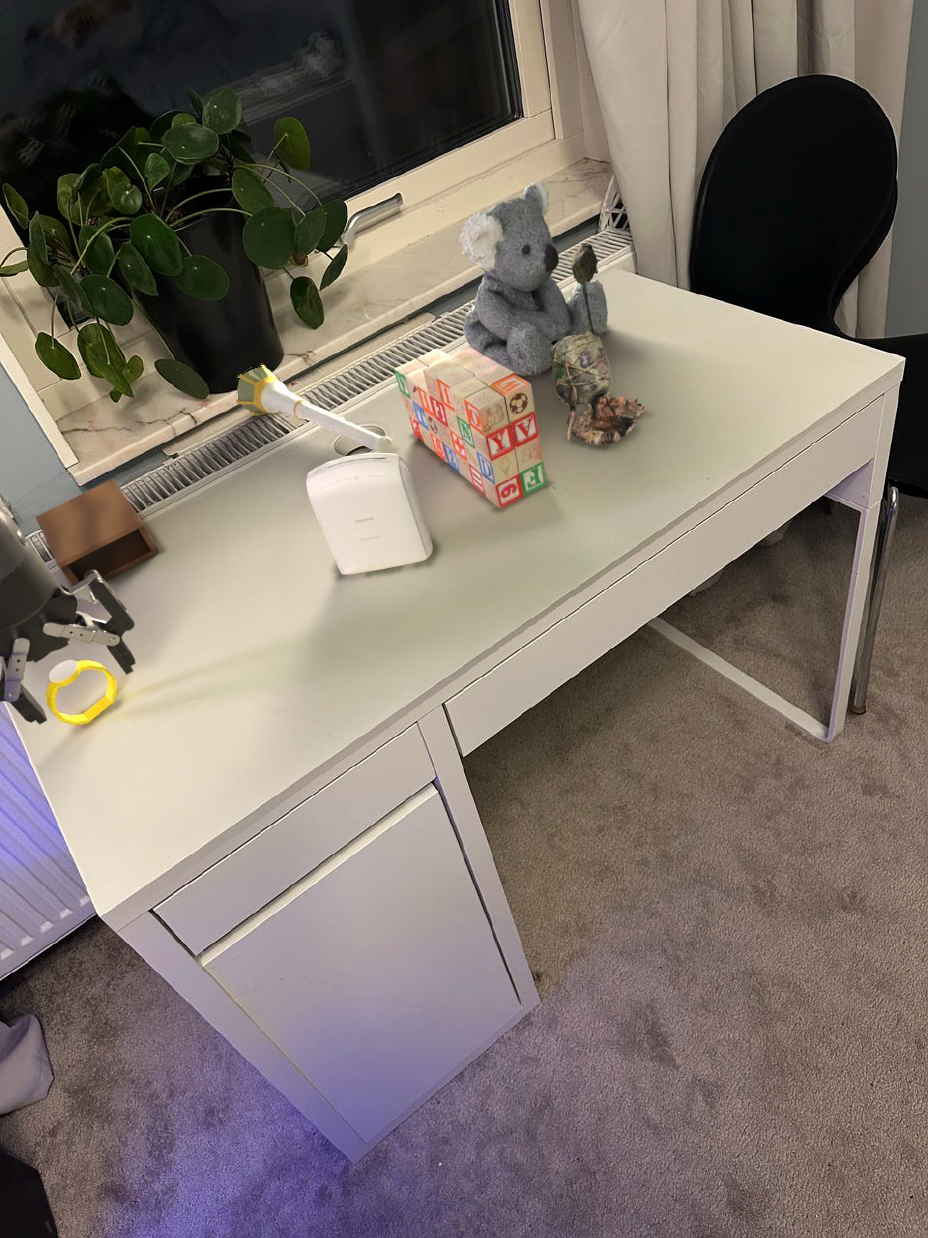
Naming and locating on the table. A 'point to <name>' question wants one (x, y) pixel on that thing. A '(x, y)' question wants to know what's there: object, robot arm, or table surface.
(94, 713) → the watch
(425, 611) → the table surface
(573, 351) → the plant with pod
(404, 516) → the photo printer
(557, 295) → the koala plush
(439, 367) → the stack of blocks
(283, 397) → the light stick
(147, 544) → the shelf
